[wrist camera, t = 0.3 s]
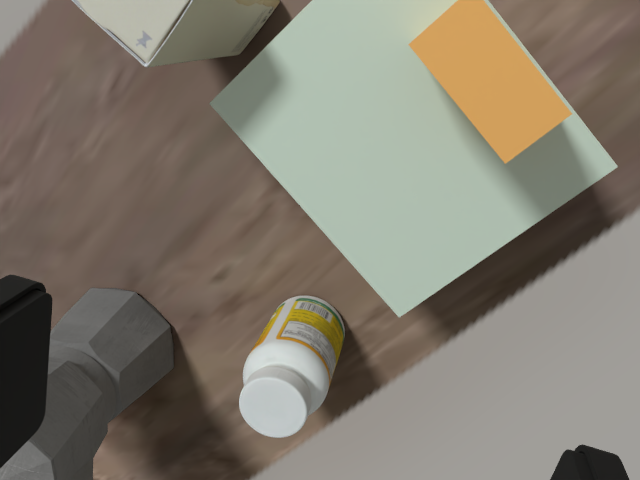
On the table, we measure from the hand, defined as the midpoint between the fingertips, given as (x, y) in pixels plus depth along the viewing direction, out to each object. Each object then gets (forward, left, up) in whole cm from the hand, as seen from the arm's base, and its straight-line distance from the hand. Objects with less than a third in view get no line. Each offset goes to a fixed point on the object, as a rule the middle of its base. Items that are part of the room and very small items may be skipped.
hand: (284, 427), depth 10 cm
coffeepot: (+26, -3, -28) cm, 39 cm away
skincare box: (+2, -13, -28) cm, 32 cm away
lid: (-2, -1, -21) cm, 21 cm away
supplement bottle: (+13, +6, -28) cm, 32 cm away
